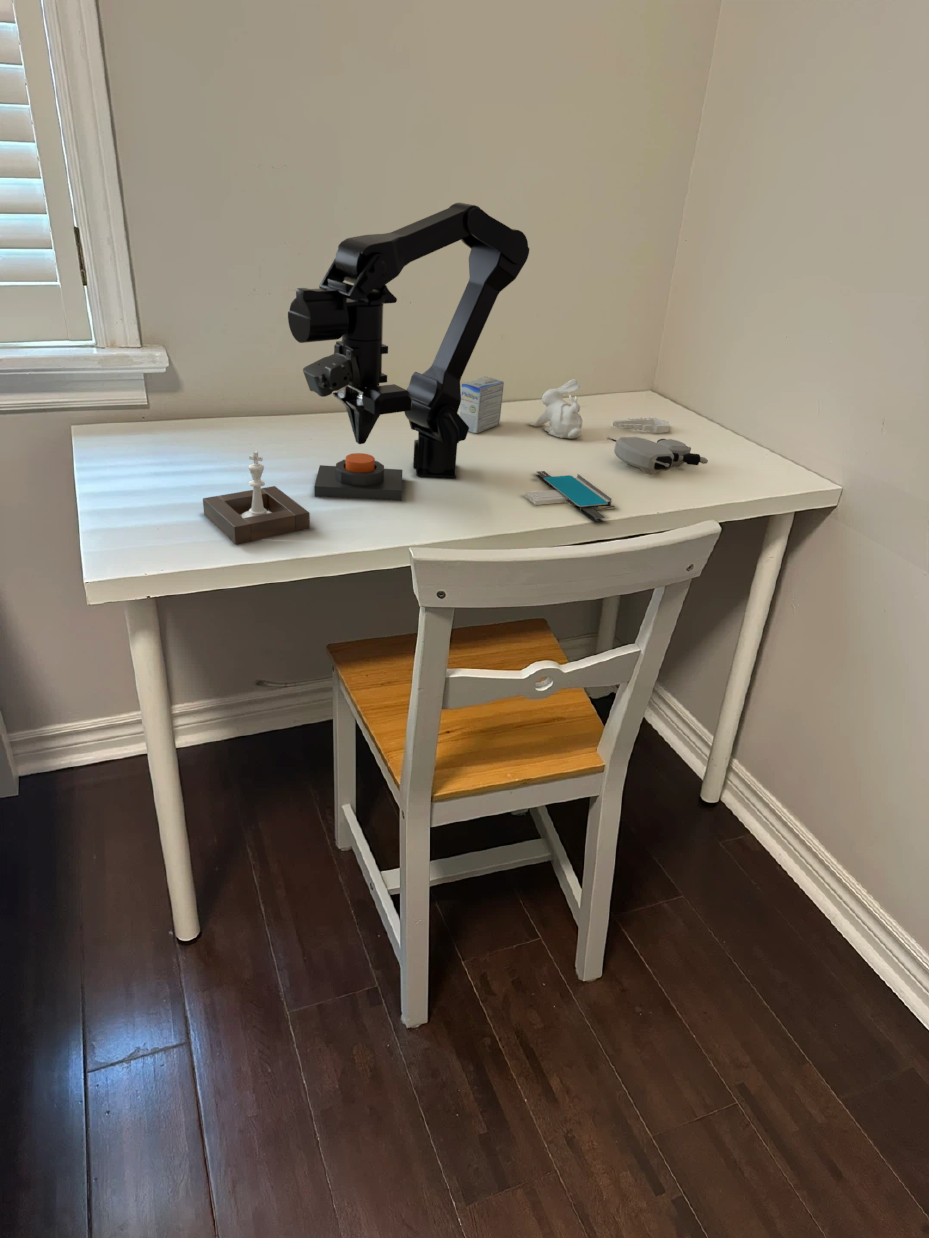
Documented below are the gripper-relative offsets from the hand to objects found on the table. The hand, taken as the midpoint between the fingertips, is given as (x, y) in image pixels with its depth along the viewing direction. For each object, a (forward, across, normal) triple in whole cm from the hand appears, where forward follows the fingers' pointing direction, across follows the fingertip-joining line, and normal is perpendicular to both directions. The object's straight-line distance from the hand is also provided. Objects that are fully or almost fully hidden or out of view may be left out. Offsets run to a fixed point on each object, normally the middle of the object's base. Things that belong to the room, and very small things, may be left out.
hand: (360, 443), depth 129 cm
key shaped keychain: (+7, -2, +66) cm, 66 cm away
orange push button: (+4, 0, 0) cm, 4 cm away
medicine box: (+7, -17, +36) cm, 41 cm away
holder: (+7, +5, -19) cm, 21 cm away
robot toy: (+7, +14, +52) cm, 54 cm away
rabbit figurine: (+7, -8, +50) cm, 51 cm away
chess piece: (+7, +5, -19) cm, 21 cm away
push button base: (+7, 0, 0) cm, 7 cm away
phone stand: (+7, +17, +27) cm, 33 cm away
